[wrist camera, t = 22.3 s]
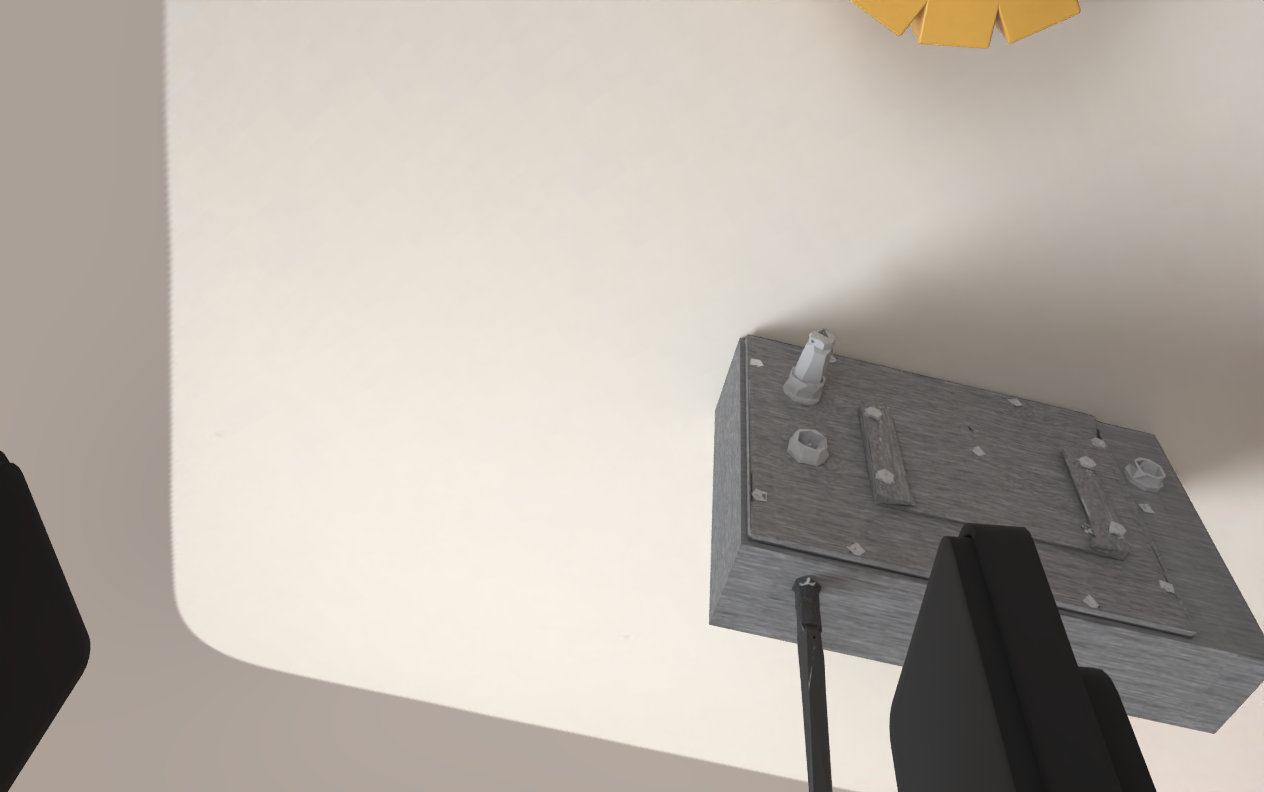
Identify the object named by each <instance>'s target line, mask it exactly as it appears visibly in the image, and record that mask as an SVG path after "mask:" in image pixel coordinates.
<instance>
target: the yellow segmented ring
mask: <svg viewBox="0 0 1264 792" xmlns="http://www.w3.org/2000/svg"><path fill="white" fill-rule="evenodd" d="M850 1H851V2H853V3H854V4H855V5H857V6H858V7H860V8H861V9H862V10H864V11H865V12H866V13H868V14H869V15H870V16H872V17H873V18H874V19H876V20H877V21H879V22H880V23H881V24H883V25H884V26H885V27H887V28H888V29H889V30H891V31H892V32H894V33H895V34H896V35H898V36H901V35H902V34H903V33H904V31H905V30H906V29H907V28H908V26H909V25H910V26H911V28H912V31H913V33H914V35H915V37H916V39H917V41H918V43H919V44H928V45H943V46H957V47H972V48H988V47H989V45H990V41H991V37H992V33H993V29H994V25H996V26H997V28H998V29H999V30H1000V32H1001V33H1002V35H1003V36H1004V37H1005V39H1006V40H1007V41H1008V43H1009V44H1010V43H1014V42H1016V41H1018V40H1020V39H1023V38H1025V37H1027V36H1029V35H1032V34H1034V33H1036V32H1038V31H1041V30H1043V29H1045V28H1048V27H1050V26H1052V25H1054V24H1057V23H1059V22H1061V21H1063V20H1066V19H1068V18H1070V17H1072V16H1075V15H1077V14H1079V13H1080V6H1079V2H1078V0H850Z"/></svg>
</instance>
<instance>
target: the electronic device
mask: <svg viewBox="0 0 1264 792" xmlns="http://www.w3.org/2000/svg"><path fill="white" fill-rule="evenodd" d="M835 338H836V337H835V335H834V334H833V333H831V332H829V331H828V330H826V329H819V330H815V331H812V332H811V333H810V334H809V341H808V342H807V344H806V346H805V348H803V347H798V346H794V345H790V344H786V343H781V342H777V341H773V340H769V339H764V338H760V337H756V336H751V335H747V336H746V338H745V339H742V338H740V339H739V342H738V345H737V348H736V351H735V354H734V357H733V360H732V363H731V366H730V369H729V372H728V375H727V378H726V381H725V383H724V386H723V389H722V392H721V395H720V398H719V401H718V404H717V407H716V410H715V436H714V471H713V506H712V540H711V575H710V610H709V625H713V626H718V627H723V628H727V629H732V630H736V631H741V632H746V633H750V634H755V635H760V636H764V637H769V638H773V639H778V640H783V641H787V642H792V643H797V644H798V655H799V666H800V678H801V690H802V703H803V716H804V730H805V743H806V756H807V770H808V783H809V792H832V780H831V764H830V749H829V734H828V718H827V703H826V686H825V664H824V654H823V649H824V650H829V651H833V652H838V653H843V654H847V655H852V656H857V657H861V658H866V659H870V660H875V661H880V662H884V663H889V664H894V665H898V666H903V665H904V661H905V658H906V655H907V651H908V648H909V645H910V641H911V638H912V634H913V631H914V628H915V624H916V621H917V618H918V614H919V611H920V608H921V604H922V601H923V597H924V594H925V591H926V587H927V584H928V581H929V577H930V574H931V570H932V567H933V564H934V560H935V557H936V554H937V550H938V547H939V544H940V541H941V539H942V538H943V537H944V536H956V537H958V536H959V533H960V531H961V528H962V527H963V526H964V525H965V523H978V524H991V525H1004V526H1017V527H1025V528H1026V529H1027V530H1029V532H1030V534H1031V536H1032V538H1033V540H1034V543H1035V546H1036V549H1037V552H1038V554H1039V557H1040V560H1041V563H1042V566H1043V569H1044V571H1045V574H1046V577H1047V580H1048V583H1049V585H1050V588H1051V591H1052V594H1053V597H1054V600H1055V602H1056V605H1057V608H1058V611H1059V614H1060V616H1061V619H1062V622H1063V625H1064V628H1065V631H1066V633H1067V636H1068V639H1069V642H1070V645H1071V647H1072V650H1073V653H1074V656H1075V659H1076V662H1077V664H1078V666H1082V667H1094V668H1098V669H1102V670H1103V671H1104V672H1105V673H1106V674H1107V675H1108V676H1109V677H1110V678H1111V679H1112V681H1113V683H1114V685H1115V687H1116V689H1117V691H1118V693H1119V695H1120V698H1121V701H1122V703H1123V706H1124V708H1125V711H1126V714H1127V715H1129V716H1134V717H1138V718H1143V719H1148V720H1152V721H1157V722H1162V723H1166V724H1171V725H1175V726H1180V727H1185V728H1189V729H1194V730H1198V731H1203V732H1208V733H1212V734H1215V733H1216V732H1217V731H1218V730H1219V729H1220V727H1221V726H1222V725H1223V724H1224V723H1225V722H1226V721H1227V720H1228V719H1229V718H1230V717H1231V716H1232V714H1233V713H1234V712H1235V711H1236V710H1237V709H1238V708H1239V707H1240V706H1241V705H1242V704H1243V703H1244V702H1245V700H1246V699H1247V698H1248V697H1249V696H1250V695H1251V694H1252V693H1253V692H1254V691H1255V690H1256V689H1257V687H1258V686H1259V685H1260V684H1261V683H1262V682H1263V681H1264V634H1263V632H1262V630H1261V629H1260V627H1259V625H1258V623H1257V621H1256V619H1255V618H1254V616H1253V614H1252V612H1251V610H1250V608H1249V607H1248V605H1247V603H1246V601H1245V599H1244V598H1243V596H1242V594H1241V592H1240V590H1239V588H1238V587H1237V585H1236V583H1235V581H1234V579H1233V577H1232V576H1231V574H1230V572H1229V570H1228V568H1227V566H1226V565H1225V563H1224V561H1223V559H1222V557H1221V555H1220V554H1219V552H1218V550H1217V548H1216V546H1215V544H1214V543H1213V541H1212V539H1211V537H1210V535H1209V534H1208V532H1207V530H1206V528H1205V526H1204V524H1203V523H1202V521H1201V519H1200V517H1199V515H1198V513H1197V512H1196V510H1195V508H1194V506H1193V504H1192V502H1191V501H1190V499H1189V497H1188V495H1187V493H1186V491H1185V490H1184V488H1183V486H1182V484H1181V482H1180V481H1179V479H1178V477H1177V475H1176V473H1175V471H1174V470H1173V468H1172V466H1171V464H1170V462H1169V460H1168V459H1167V457H1166V455H1165V453H1164V451H1163V449H1162V448H1161V446H1160V444H1159V442H1158V440H1157V438H1156V437H1155V435H1152V434H1148V433H1144V432H1139V431H1135V430H1131V429H1126V428H1122V427H1118V426H1114V425H1109V424H1105V423H1101V422H1096V420H1095V418H1094V416H1092V415H1088V414H1084V413H1079V412H1075V411H1071V410H1067V409H1062V408H1058V407H1054V406H1050V405H1045V404H1041V403H1037V402H1033V401H1028V400H1024V399H1020V398H1016V397H1011V396H1007V395H1003V394H999V393H994V392H990V391H986V390H981V389H977V388H973V387H969V386H964V385H960V384H956V383H952V382H947V381H943V380H939V379H935V378H930V377H926V376H922V375H918V374H913V373H909V372H905V371H901V370H896V369H892V368H888V367H884V366H879V365H875V364H871V363H866V362H862V361H858V360H854V359H849V358H845V357H841V356H837V355H832V350H833V344H834V341H835Z"/></svg>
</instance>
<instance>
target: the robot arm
mask: <svg viewBox="0 0 1264 792" xmlns="http://www.w3.org/2000/svg"><path fill="white" fill-rule="evenodd" d="M89 654H90V639H89V635H88V633H87V630H86V628H85V625H84V623H83V621H82V618H81V615H80V613H79V610H78V608H77V605H76V603H75V601H74V598H73V596H72V593H71V591H70V588H69V586H68V583H67V581H66V579H65V576H64V574H63V571H62V569H61V566H60V564H59V561H58V559H57V556H56V554H55V551H54V549H53V547H52V544H51V542H50V539H49V537H48V534H47V532H46V529H45V527H44V525H43V522H42V520H41V517H40V515H39V512H38V510H37V507H36V505H35V503H34V500H33V497H32V495H31V493H30V490H29V488H28V485H27V483H26V480H25V478H24V475H23V473H22V472H21V470H20V468H19V467H18V466H16V465H15V464H14V463H10V462H9V461H8V459H7V457H6V456H5V454H4V453H3V452H1V451H0V792H8V790H9V789H10V787H11V786H12V784H13V783H14V781H15V779H16V778H17V776H18V775H19V773H20V771H21V770H22V768H23V767H24V765H25V764H26V762H27V760H28V759H29V757H30V756H31V754H32V753H33V751H34V750H35V748H36V746H37V745H38V743H39V742H40V740H41V739H42V737H43V735H44V734H45V732H46V731H47V729H48V727H49V726H50V724H51V723H52V721H53V720H54V718H55V716H56V715H57V713H58V712H59V710H60V709H61V707H62V705H63V704H64V702H65V701H66V699H67V698H68V696H69V694H70V693H71V691H72V690H73V688H74V687H75V685H76V683H77V682H78V680H79V679H80V677H81V676H82V674H83V672H84V670H85V668H86V666H87V663H88V660H89ZM890 742H891V749H892V755H893V762H894V768H895V775H896V781H897V787H898V792H1156V789H1155V786H1154V784H1153V781H1152V779H1151V776H1150V773H1149V771H1148V768H1147V766H1146V763H1145V760H1144V758H1143V755H1142V753H1141V750H1140V747H1139V745H1138V742H1137V740H1136V737H1135V734H1134V732H1133V729H1132V727H1131V724H1130V721H1129V719H1128V716H1127V714H1126V711H1125V708H1124V706H1123V703H1122V701H1121V698H1120V695H1119V693H1118V691H1117V689H1116V687H1115V685H1114V683H1113V681H1112V679H1111V678H1110V677H1109V676H1108V675H1107V674H1106V673H1105V672H1104V671H1103V670H1102V669H1098V668H1094V667H1082V666H1078V664H1077V662H1076V659H1075V656H1074V653H1073V650H1072V647H1071V645H1070V642H1069V639H1068V636H1067V633H1066V631H1065V628H1064V625H1063V622H1062V619H1061V616H1060V614H1059V611H1058V608H1057V605H1056V602H1055V600H1054V597H1053V594H1052V591H1051V588H1050V585H1049V583H1048V580H1047V577H1046V574H1045V571H1044V569H1043V566H1042V563H1041V560H1040V557H1039V554H1038V552H1037V549H1036V546H1035V543H1034V540H1033V538H1032V536H1031V534H1030V532H1029V530H1027V529H1026V528H1025V527H1017V526H1004V525H991V524H978V523H965V525H964V526H963V527H962V528H961V531H960V533H959V536H958V537H956V536H944V537H943V538H942V539H941V541H940V544H939V547H938V550H937V554H936V557H935V560H934V564H933V567H932V570H931V574H930V577H929V581H928V584H927V587H926V591H925V594H924V597H923V601H922V604H921V608H920V611H919V614H918V618H917V621H916V624H915V628H914V631H913V634H912V638H911V641H910V645H909V648H908V651H907V655H906V658H905V661H904V665H903V668H902V672H901V675H900V678H899V682H898V685H897V688H896V692H895V695H894V698H893V702H892V706H891V712H890Z"/></svg>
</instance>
